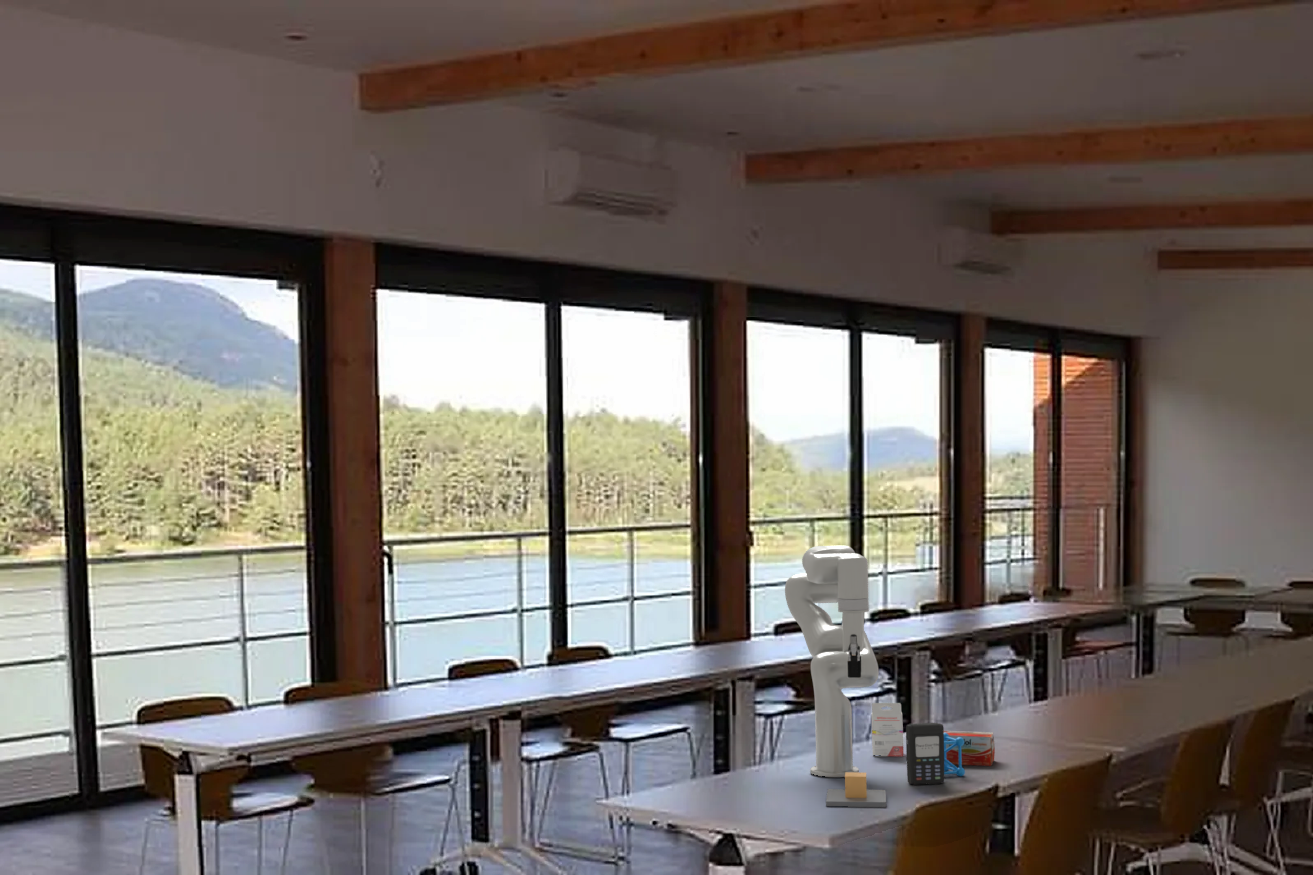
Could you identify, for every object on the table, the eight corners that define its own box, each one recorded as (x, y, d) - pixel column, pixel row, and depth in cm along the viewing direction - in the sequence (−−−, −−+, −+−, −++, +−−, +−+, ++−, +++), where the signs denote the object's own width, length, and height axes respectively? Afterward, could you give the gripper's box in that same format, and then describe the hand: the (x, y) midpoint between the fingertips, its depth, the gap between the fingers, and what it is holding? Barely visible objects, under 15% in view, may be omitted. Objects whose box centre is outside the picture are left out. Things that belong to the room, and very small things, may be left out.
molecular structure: (966, 776, 393) (965, 737, 393) (932, 780, 390) (931, 740, 390) (946, 769, 403) (946, 731, 403) (913, 773, 399) (912, 734, 400)
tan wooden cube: (845, 793, 369) (845, 772, 370) (866, 793, 369) (866, 772, 369) (845, 797, 364) (845, 776, 365) (866, 797, 364) (866, 776, 364)
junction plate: (827, 794, 374) (827, 774, 374) (885, 794, 372) (885, 775, 373) (826, 806, 361) (825, 786, 361) (886, 807, 359) (885, 787, 359)
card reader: (910, 786, 382) (909, 725, 383) (905, 783, 386) (904, 723, 387) (945, 784, 384) (944, 724, 384) (940, 781, 388) (939, 721, 388)
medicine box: (995, 761, 414) (994, 731, 414) (992, 767, 406) (992, 736, 406) (938, 759, 418) (937, 729, 418) (935, 764, 410) (934, 734, 411)
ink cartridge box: (903, 753, 426) (902, 700, 427) (903, 757, 422) (902, 703, 422) (872, 753, 428) (871, 700, 428) (872, 756, 423) (871, 703, 423)
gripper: (838, 602, 390) (840, 670, 389) (837, 608, 372) (838, 679, 372) (868, 602, 388) (870, 670, 388) (868, 608, 371) (869, 679, 371)
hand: (854, 674), depth 380 cm, fingers open, 9 cm apart
